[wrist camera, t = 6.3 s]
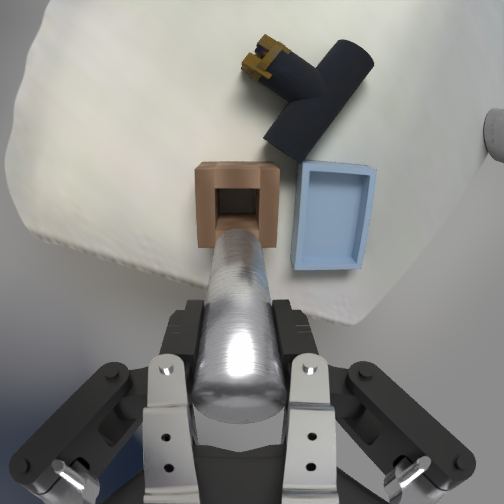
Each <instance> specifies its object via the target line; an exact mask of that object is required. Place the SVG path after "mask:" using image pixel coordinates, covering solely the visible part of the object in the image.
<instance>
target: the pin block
mask: <svg viewBox="0 0 504 504" xmlns="http://www.w3.org/2000/svg"><path fill="white" fill-rule="evenodd" d="M279 185H280V169H279V168H278V167H277V166H276V165H275V164H274V163H273V162H202V163H201V164H200V165H199V166H198V167H197V168H196V169H195V196H196V219H197V237H198V248H215V244H216V242H217V240H218V238H219V237H220V236H221V235H222V234H223V233H225V232H226V231H229V230H232V229H245V230H248V231H250V232H251V233H253V234H254V235H255V236H256V237H257V238H258V239H259V241H260V244H261V248H276V242H277V225H278V206H279ZM219 188H256V206H255V213H219Z"/></svg>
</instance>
